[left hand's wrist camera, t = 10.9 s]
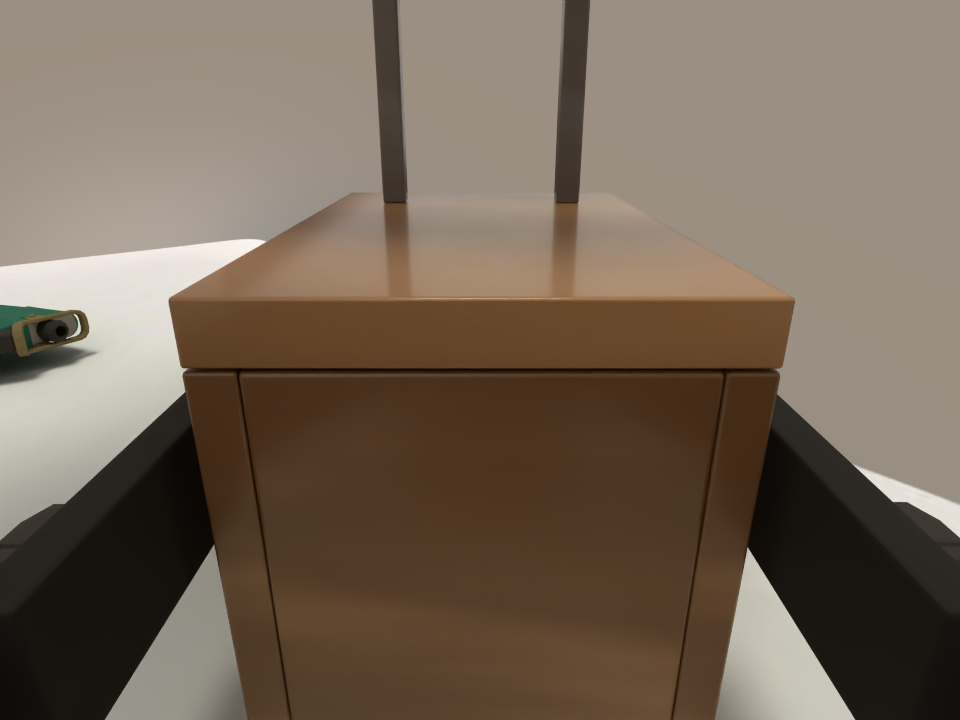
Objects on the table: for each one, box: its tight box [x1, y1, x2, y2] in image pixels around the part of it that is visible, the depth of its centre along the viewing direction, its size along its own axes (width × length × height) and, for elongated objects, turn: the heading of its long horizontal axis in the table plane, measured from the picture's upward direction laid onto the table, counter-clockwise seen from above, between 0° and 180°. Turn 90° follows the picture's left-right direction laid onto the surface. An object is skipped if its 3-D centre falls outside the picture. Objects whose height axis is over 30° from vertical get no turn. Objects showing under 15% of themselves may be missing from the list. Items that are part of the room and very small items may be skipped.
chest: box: [183, 368, 780, 720], centre depth 17 cm, size 13×9×10 cm
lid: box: [169, 0, 795, 368], centre depth 15 cm, size 14×9×8 cm, turn 0°
